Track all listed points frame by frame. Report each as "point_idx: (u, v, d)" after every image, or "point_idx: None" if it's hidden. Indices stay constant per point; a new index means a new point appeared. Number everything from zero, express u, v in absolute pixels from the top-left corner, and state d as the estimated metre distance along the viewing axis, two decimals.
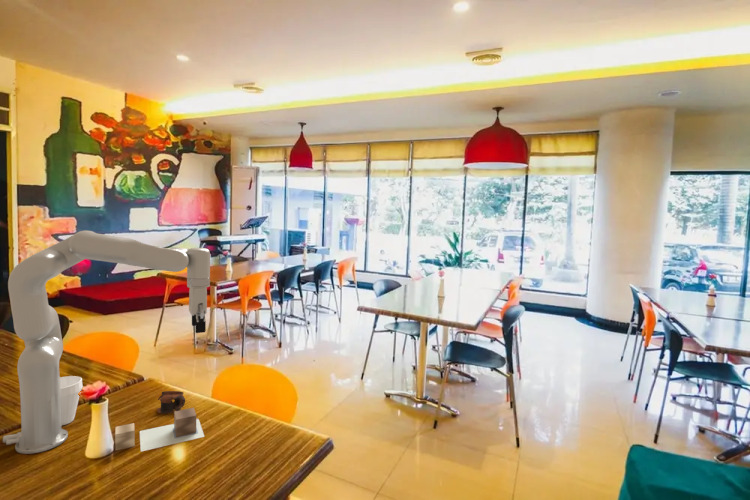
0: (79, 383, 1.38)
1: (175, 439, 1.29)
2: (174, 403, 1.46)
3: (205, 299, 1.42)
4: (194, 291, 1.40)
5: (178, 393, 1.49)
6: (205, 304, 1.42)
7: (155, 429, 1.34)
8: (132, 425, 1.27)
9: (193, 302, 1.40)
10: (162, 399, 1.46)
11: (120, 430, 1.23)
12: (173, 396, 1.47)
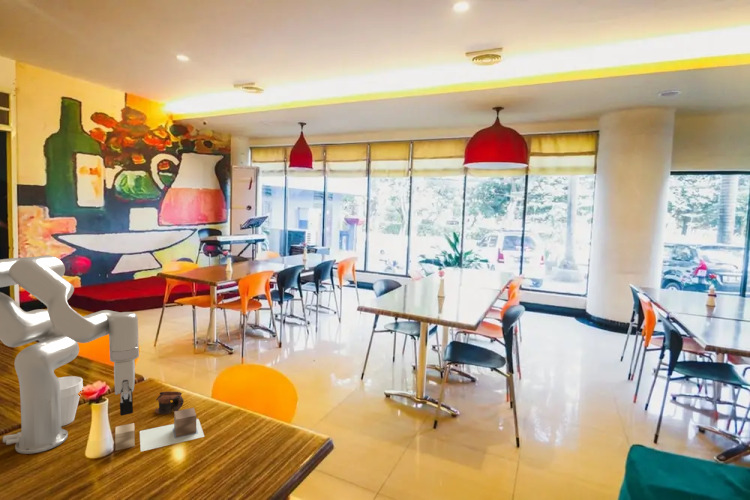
0: (79, 384, 1.38)
1: (175, 439, 1.29)
2: (172, 404, 1.46)
3: (130, 374, 1.20)
4: (117, 366, 1.18)
5: (176, 393, 1.49)
6: (131, 380, 1.20)
7: (155, 429, 1.34)
8: (132, 425, 1.27)
9: (116, 379, 1.18)
10: (160, 400, 1.46)
11: (120, 430, 1.23)
12: (171, 397, 1.47)
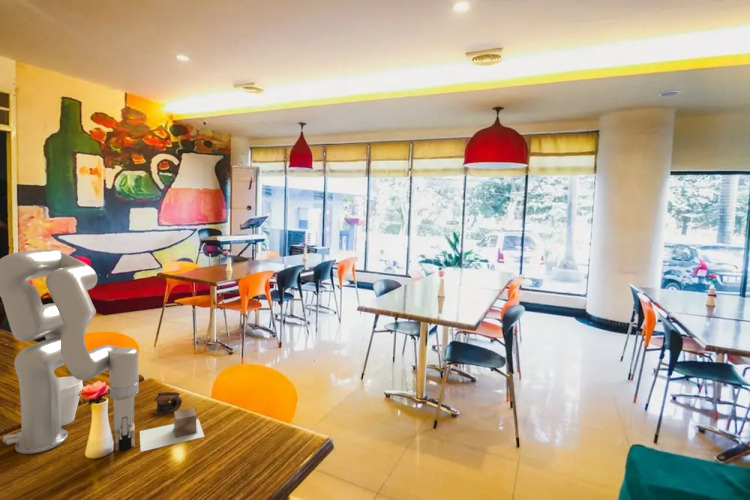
0: (79, 384, 1.38)
1: (175, 439, 1.29)
2: (170, 404, 1.45)
3: (130, 410, 1.21)
4: (116, 403, 1.19)
5: (174, 394, 1.48)
6: (130, 417, 1.21)
7: (155, 429, 1.34)
8: None
9: (115, 416, 1.19)
10: (158, 400, 1.45)
11: None
12: (169, 397, 1.46)
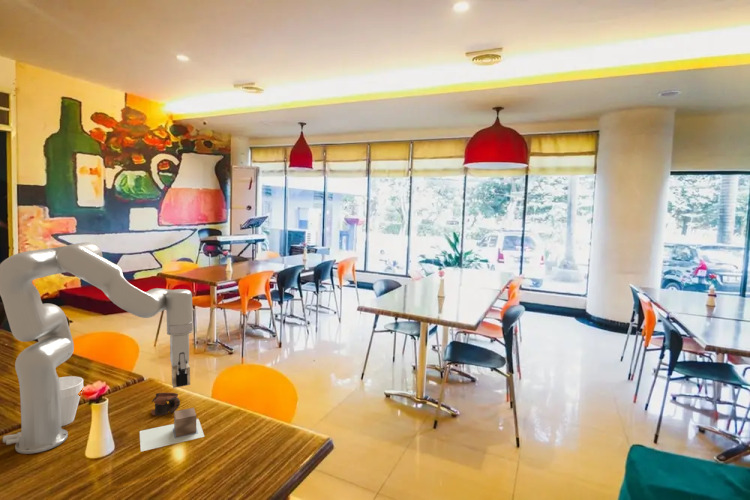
0: (80, 384, 1.37)
1: (175, 439, 1.29)
2: (169, 405, 1.45)
3: (186, 347, 1.27)
4: (174, 339, 1.26)
5: (172, 395, 1.48)
6: (187, 353, 1.27)
7: (155, 429, 1.34)
8: None
9: (173, 352, 1.25)
10: (156, 401, 1.45)
11: (176, 367, 1.30)
12: (167, 398, 1.46)
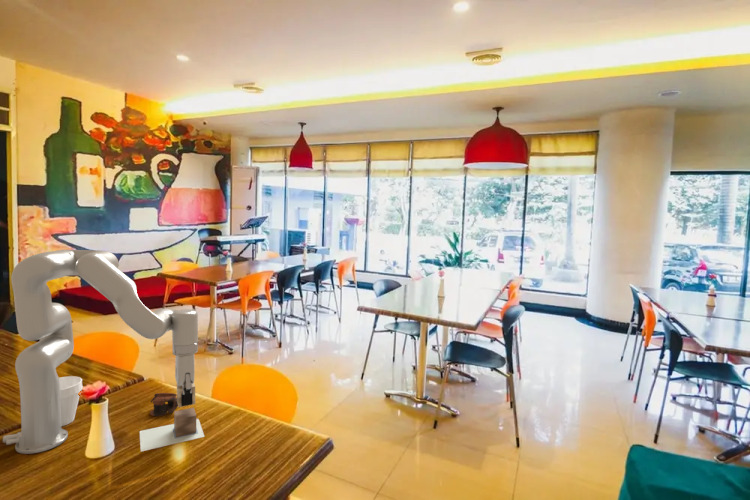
0: (79, 384, 1.37)
1: (175, 439, 1.29)
2: (167, 405, 1.45)
3: (192, 367, 1.29)
4: (180, 360, 1.27)
5: (171, 395, 1.48)
6: (192, 373, 1.29)
7: (155, 429, 1.34)
8: None
9: (179, 372, 1.27)
10: (155, 401, 1.44)
11: None
12: (166, 398, 1.45)
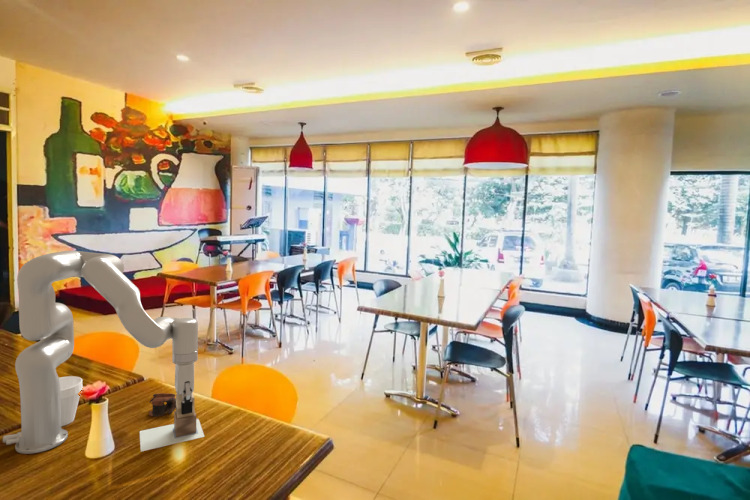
0: (79, 385, 1.37)
1: (175, 439, 1.29)
2: (166, 405, 1.44)
3: (192, 376, 1.29)
4: (180, 368, 1.27)
5: (170, 395, 1.47)
6: (192, 382, 1.29)
7: (155, 429, 1.34)
8: None
9: (179, 381, 1.27)
10: (154, 402, 1.44)
11: (181, 397, 1.32)
12: (165, 399, 1.45)
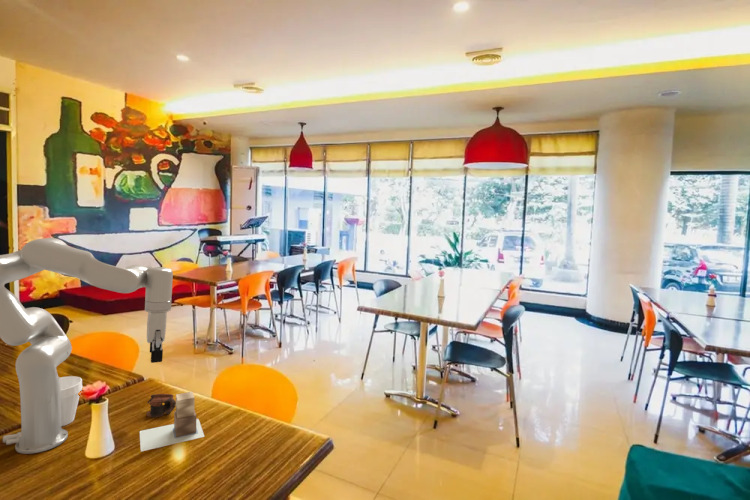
0: (78, 385, 1.37)
1: (175, 439, 1.29)
2: (164, 406, 1.44)
3: (163, 325, 1.28)
4: (151, 316, 1.26)
5: (168, 396, 1.47)
6: (163, 331, 1.28)
7: (155, 429, 1.34)
8: (191, 393, 1.35)
9: (149, 328, 1.26)
10: (152, 402, 1.43)
11: (181, 397, 1.32)
12: (163, 399, 1.45)
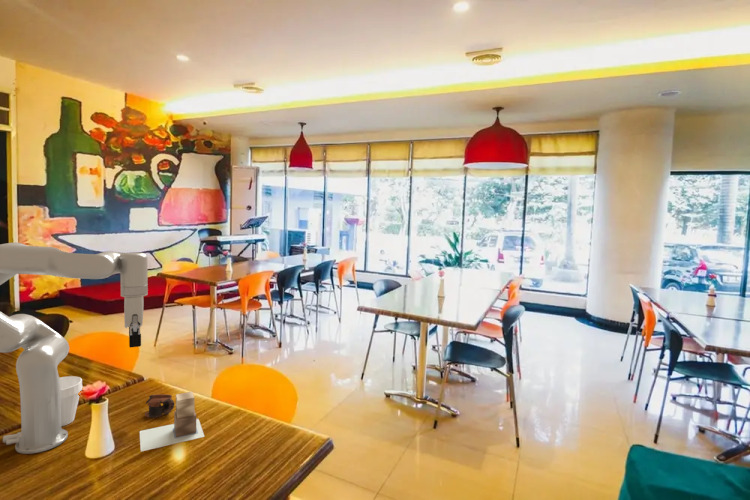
0: (78, 385, 1.37)
1: (175, 439, 1.29)
2: (163, 407, 1.43)
3: (140, 309, 1.28)
4: (127, 301, 1.26)
5: (166, 396, 1.46)
6: (140, 315, 1.28)
7: (155, 429, 1.34)
8: (191, 393, 1.35)
9: (126, 313, 1.26)
10: (150, 403, 1.43)
11: (181, 397, 1.32)
12: (161, 400, 1.44)
